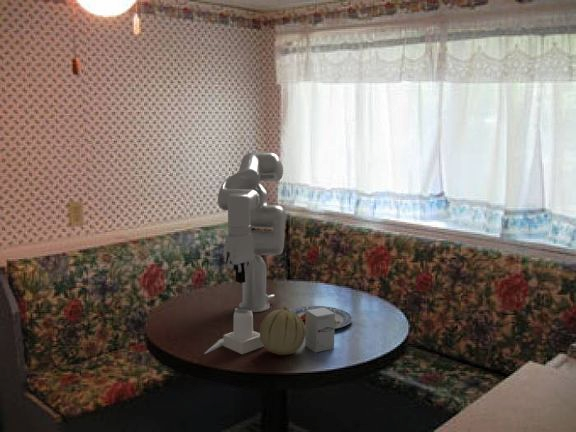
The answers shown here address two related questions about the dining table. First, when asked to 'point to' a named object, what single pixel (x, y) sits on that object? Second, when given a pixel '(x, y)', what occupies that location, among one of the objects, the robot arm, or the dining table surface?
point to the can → (243, 323)
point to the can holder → (242, 343)
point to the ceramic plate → (340, 315)
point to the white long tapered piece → (216, 345)
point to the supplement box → (319, 329)
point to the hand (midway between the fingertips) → (240, 281)
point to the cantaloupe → (282, 332)
